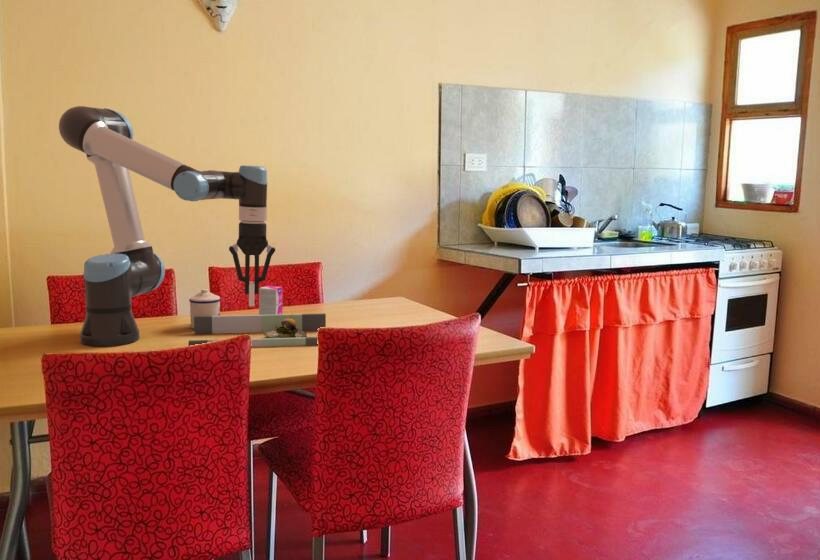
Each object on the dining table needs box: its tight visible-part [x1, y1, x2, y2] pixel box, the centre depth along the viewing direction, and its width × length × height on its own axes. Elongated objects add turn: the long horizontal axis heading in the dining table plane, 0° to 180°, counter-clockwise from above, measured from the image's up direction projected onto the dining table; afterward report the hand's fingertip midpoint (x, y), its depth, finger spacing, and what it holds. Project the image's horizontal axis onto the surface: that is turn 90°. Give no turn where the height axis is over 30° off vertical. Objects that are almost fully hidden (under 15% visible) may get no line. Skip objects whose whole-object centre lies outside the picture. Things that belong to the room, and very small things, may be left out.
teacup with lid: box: [188, 288, 221, 330], centre depth 218 cm, size 12×9×12 cm
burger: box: [264, 312, 308, 338], centre depth 205 cm, size 12×12×8 cm
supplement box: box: [258, 285, 284, 315], centre depth 224 cm, size 6×6×12 cm
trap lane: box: [188, 312, 327, 348], centre depth 204 cm, size 38×18×5 cm, turn 102°
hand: (251, 305), depth 203 cm, fingers closed
